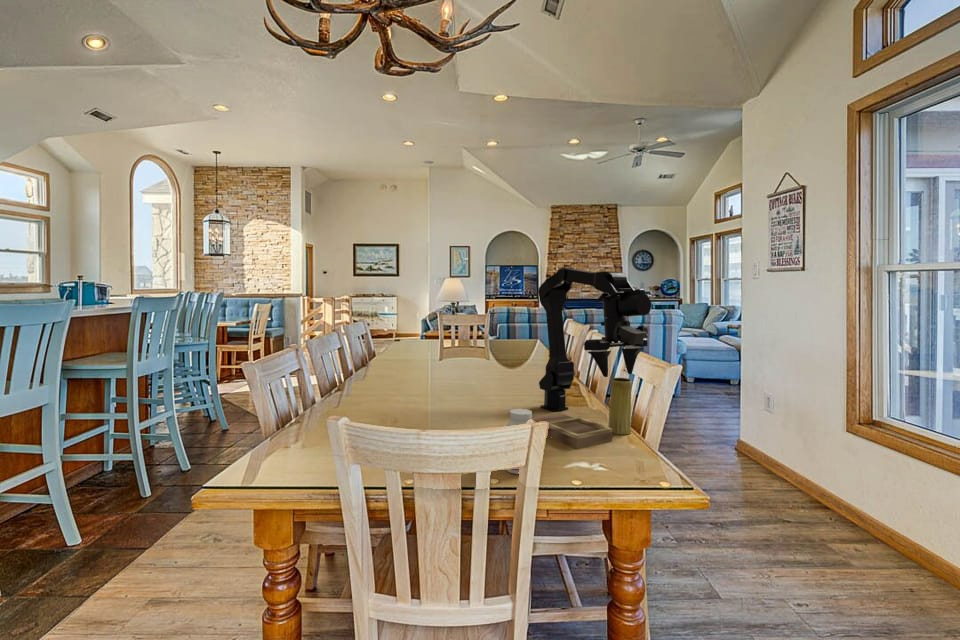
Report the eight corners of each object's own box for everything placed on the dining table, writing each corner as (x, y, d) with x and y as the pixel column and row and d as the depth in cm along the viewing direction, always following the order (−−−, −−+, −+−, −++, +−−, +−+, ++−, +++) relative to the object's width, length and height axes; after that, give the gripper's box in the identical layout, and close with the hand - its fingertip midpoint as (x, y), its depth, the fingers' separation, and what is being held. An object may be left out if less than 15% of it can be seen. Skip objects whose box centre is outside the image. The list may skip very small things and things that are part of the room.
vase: (628, 428, 144) (631, 377, 143) (633, 435, 138) (635, 382, 137) (606, 427, 145) (608, 376, 143) (609, 434, 138) (611, 381, 137)
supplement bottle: (518, 461, 117) (519, 405, 116) (541, 470, 112) (543, 411, 111) (497, 469, 112) (499, 410, 111) (520, 478, 108) (522, 417, 107)
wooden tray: (526, 427, 143) (526, 415, 143) (559, 421, 150) (560, 410, 149) (576, 449, 126) (577, 435, 126) (611, 441, 133) (612, 428, 132)
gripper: (612, 317, 130) (615, 380, 129) (662, 315, 139) (665, 373, 139) (581, 319, 139) (584, 378, 139) (629, 317, 149) (633, 372, 149)
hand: (618, 375), depth 141 cm, fingers open, 9 cm apart
